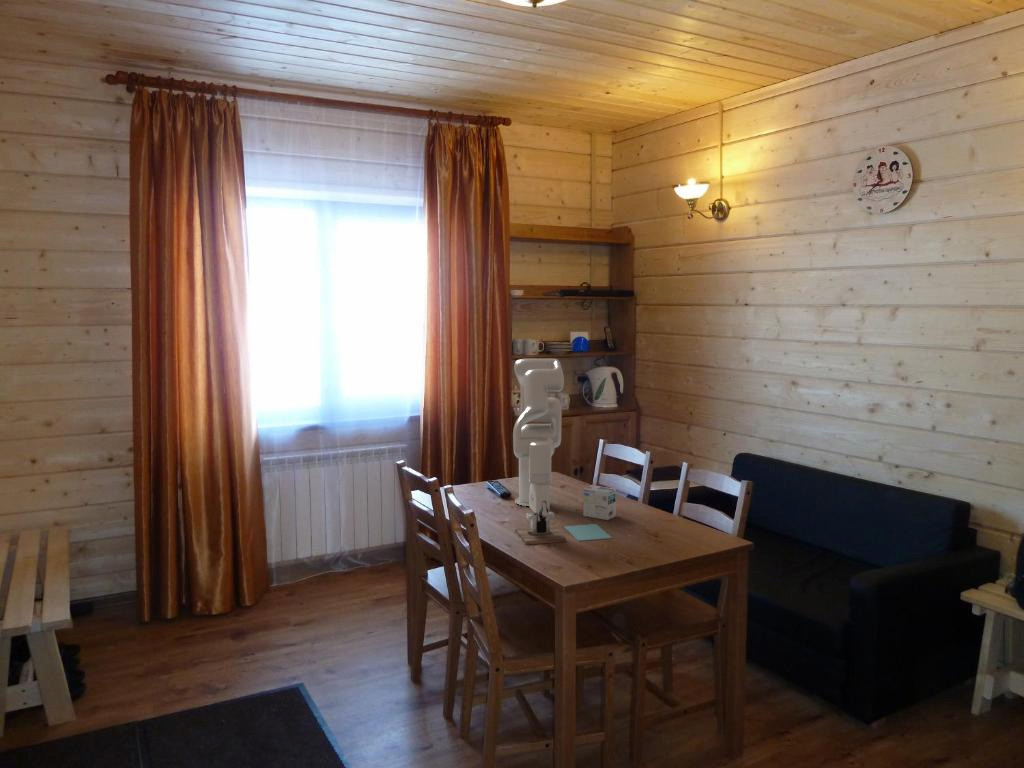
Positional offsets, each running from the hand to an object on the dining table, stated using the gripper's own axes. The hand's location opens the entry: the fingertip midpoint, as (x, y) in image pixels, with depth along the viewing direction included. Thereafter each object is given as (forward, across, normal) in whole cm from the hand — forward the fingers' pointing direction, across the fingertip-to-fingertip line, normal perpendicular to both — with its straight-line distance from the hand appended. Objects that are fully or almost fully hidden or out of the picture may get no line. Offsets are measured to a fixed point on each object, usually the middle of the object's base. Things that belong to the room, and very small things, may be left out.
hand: (540, 530), depth 260 cm
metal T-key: (+2, 0, 0) cm, 2 cm away
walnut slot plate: (+2, 0, 0) cm, 2 cm away
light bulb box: (+2, -18, +28) cm, 33 cm away
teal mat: (+2, 0, +17) cm, 17 cm away
